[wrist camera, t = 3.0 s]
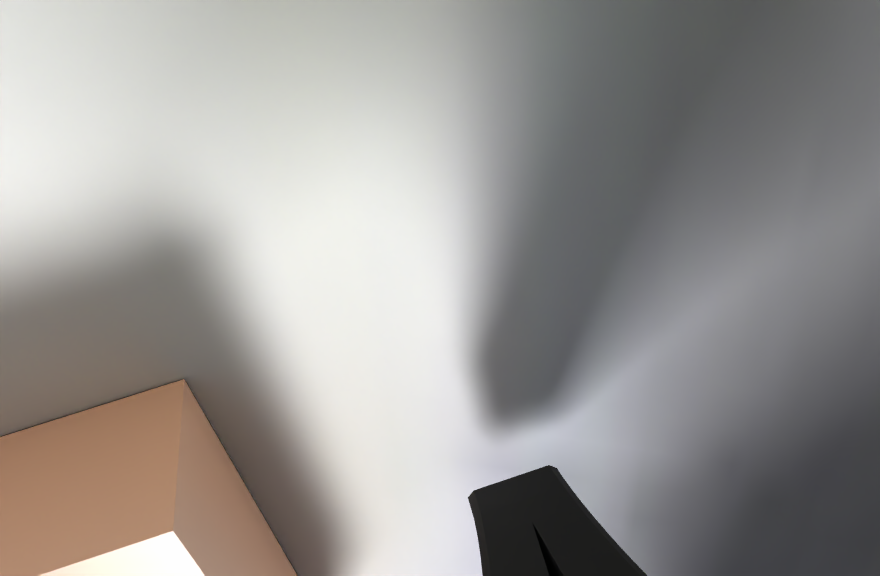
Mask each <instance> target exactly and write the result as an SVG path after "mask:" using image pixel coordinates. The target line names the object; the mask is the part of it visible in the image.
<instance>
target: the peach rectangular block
mask: <svg viewBox="0 0 880 576" xmlns="http://www.w3.org/2000/svg"><path fill="white" fill-rule="evenodd" d="M0 576H297V574H296V572H295V571H294V569H293V567H292V565H291V564H290V562H289V560H288V558H287V557H286V555H285V553H284V552H283V550H282V548H281V546H280V545H279V543H278V541H277V539H276V538H275V536H274V534H273V532H272V531H271V529H270V527H269V525H268V524H267V522H266V520H265V519H264V517H263V515H262V513H261V512H260V510H259V508H258V506H257V505H256V503H255V501H254V499H253V498H252V496H251V494H250V493H249V491H248V489H247V487H246V486H245V484H244V482H243V480H242V479H241V477H240V475H239V473H238V472H237V470H236V468H235V466H234V465H233V463H232V461H231V460H230V458H229V456H228V454H227V453H226V451H225V449H224V447H223V446H222V444H221V442H220V440H219V439H218V437H217V435H216V433H215V432H214V430H213V428H212V427H211V425H210V423H209V421H208V420H207V418H206V416H205V414H204V413H203V411H202V409H201V407H200V406H199V404H198V402H197V400H196V399H195V397H194V395H193V394H192V392H191V390H190V388H189V387H188V385H187V383H186V381H185V380H184V379H183V380H180V381H177V382H174V383H170V384H167V385H164V386H161V387H158V388H155V389H151V390H148V391H145V392H142V393H139V394H136V395H132V396H129V397H126V398H123V399H120V400H117V401H113V402H110V403H107V404H104V405H101V406H97V407H94V408H91V409H88V410H85V411H82V412H78V413H75V414H72V415H69V416H66V417H63V418H59V419H56V420H53V421H50V422H47V423H44V424H40V425H37V426H34V427H31V428H28V429H25V430H21V431H18V432H15V433H12V434H9V435H5V436H2V437H0Z"/></svg>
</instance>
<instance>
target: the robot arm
mask: <svg viewBox="0 0 880 576" xmlns="http://www.w3.org/2000/svg"><path fill="white" fill-rule="evenodd" d="M468 499H469V503H470V506H471V510H472V513H473V517H474V521H475V525H476V530H477V535H478V541H479V548H480V555H481V564H482V573H483V576H647V575H646V574H645V573H644V572H643V571H642V570H641V569H640V568H639V567H638V565H637V564H636V563H635V562H634V561H633V560H632V559H631V558H630V557H629V556H628V555H627V554H626V553H625V552H624V551H623V550H622V549H621V547H620V546H619V545H618V544H617V543H616V542H615V541H614V540H613V539H612V538H611V536H610V535H609V534H608V533H607V532H606V531H605V529H604V528H603V527H602V526H601V525H600V524H599V523H598V521H597V520H596V519H595V518H594V517H593V516H592V514H591V513H590V512H589V511H588V509H587V508H586V507H585V506H584V505H583V503H582V502H581V501H580V500H579V498H578V497H577V496H576V494H575V493H574V492H573V490H572V489H571V488H570V486H569V485H568V484H567V482H566V481H565V480H564V478H563V477H562V475H561V474H560V472H559V471H558V469H557V468H555V467H553V466H550V465H548V466H545V467H542V468H539V469H536V470H533V471H530V472H527V473H524V474H522V475H519V476H516V477H513V478H510V479H507V480H504V481H501V482H498V483H495V484H492V485H489V486H486V487H483V488H480V489H477V490H474V491H473V492H472V493H471V495H470V496H469V497H468Z"/></svg>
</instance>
